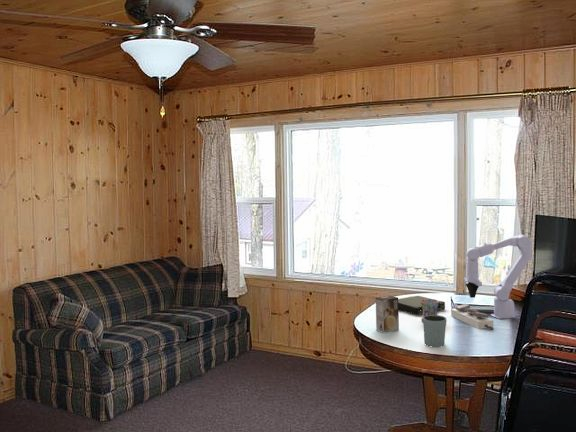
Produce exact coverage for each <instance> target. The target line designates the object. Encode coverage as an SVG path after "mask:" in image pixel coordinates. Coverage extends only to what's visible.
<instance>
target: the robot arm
mask: <svg viewBox="0 0 576 432" xmlns="http://www.w3.org/2000/svg"><path fill="white" fill-rule="evenodd" d="M508 246H512V247H517V248H518V251H519V254H520V255H519V256H518V258H517V260H516V261H515V263H514V264H513V265H512V267H511V268H510V270H509V271H508V273H507V275H506V276H505V278H504V279H503V280H502V281H501V282H500V283H499V284H498V285H497V286H495V287H494V289H493V294H494V295H495V297H494V298H493V313H491V314H490V316H492V317H494V318H496V319H498V320H502V319H515V318H516V316H515V302H514V300H512V299H511V298H510V296H511V295H510V293H511V292H512V288H513V286H514V285H515V283H516V281H517V280H518V279H519V276H520V275H521V273H523V270H524V269H525V268H526V266H527V264H529V262H530V260H531V258H532V256H533V243H532V240H531V239H530V238H529V237H528V236H526V235H525V234H520V233H519V234H518V235H513V236H509V237H507V238H504V239H502V240H499V241H496V242H494V243H490V242H483V244H480V245H478V246H476V245H475V246H474V247H471V248H470V247H469V248H468V249H467V251H466V253H465V256H466V257H467V259H466V276H465V277H463V282H465V287H467V288H466V289H467V291H468V294H469V298H476V296H477V295H476V294H477V292H478V289H479V287H483V282H482V281H480V280H479V258H483V257H485V256H489V255H491V254H494V251H495V250H496V251H497V250H498V249H502V248H505V247H508Z"/></svg>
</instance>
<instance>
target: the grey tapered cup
mask: <svg viewBox="0 0 576 432" xmlns="http://www.w3.org/2000/svg"><path fill="white" fill-rule="evenodd" d="M447 321H448V320H447V317H445V316H443V315H439V314H437V315H426V316H424V317H423V321H422V322H423V340H424V341H423V342H424V345H425V344H426V345H428V346H427V347H429V346H432V347H431V348H442V347H444V346H445V342H446V341H445V340H446V330H447V329H446V327H447ZM426 345H425V346H426ZM441 346H442V347H441Z"/></svg>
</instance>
